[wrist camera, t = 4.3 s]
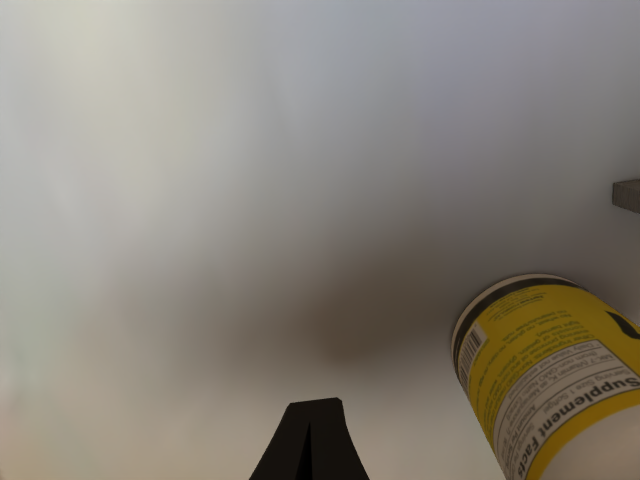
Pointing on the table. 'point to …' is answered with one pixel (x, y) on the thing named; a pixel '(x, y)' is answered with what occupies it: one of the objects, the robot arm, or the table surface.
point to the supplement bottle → (552, 380)
